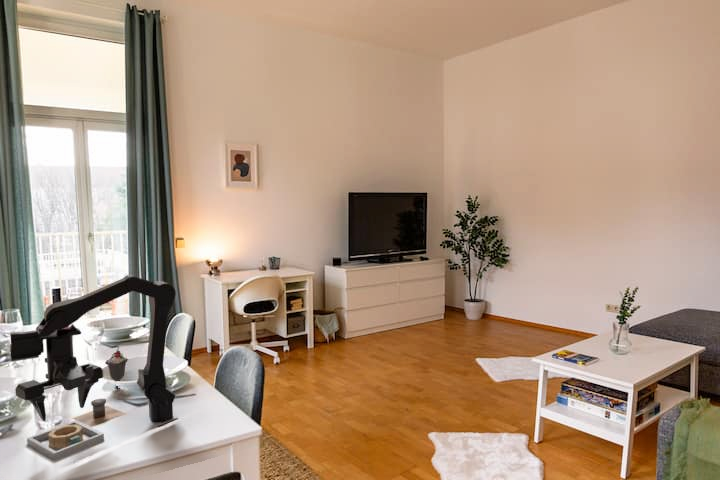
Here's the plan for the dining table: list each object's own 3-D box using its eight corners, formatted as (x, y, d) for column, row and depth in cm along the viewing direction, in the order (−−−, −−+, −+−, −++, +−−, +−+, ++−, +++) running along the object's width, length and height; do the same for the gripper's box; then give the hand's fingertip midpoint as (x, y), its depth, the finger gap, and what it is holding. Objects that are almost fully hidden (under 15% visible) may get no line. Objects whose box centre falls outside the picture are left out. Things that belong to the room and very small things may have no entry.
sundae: (120, 395, 160) (118, 349, 159) (102, 393, 162) (100, 348, 160) (133, 387, 167) (131, 343, 165) (116, 386, 168) (114, 342, 167)
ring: (73, 433, 132) (72, 422, 132) (90, 442, 128) (89, 430, 127) (44, 444, 127) (44, 432, 126) (61, 453, 122) (60, 441, 122)
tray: (104, 443, 129) (103, 433, 128) (54, 463, 119) (54, 453, 119) (76, 429, 136) (75, 420, 136) (27, 447, 126) (27, 438, 126)
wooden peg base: (126, 416, 144) (125, 399, 144) (91, 430, 136) (90, 411, 135) (107, 409, 150) (106, 391, 149) (72, 421, 141) (71, 403, 141)
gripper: (34, 370, 113) (38, 436, 115) (113, 349, 129) (116, 408, 130) (12, 361, 120) (16, 424, 121) (90, 343, 135) (93, 399, 136)
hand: (63, 413), depth 127 cm, fingers open, 9 cm apart
